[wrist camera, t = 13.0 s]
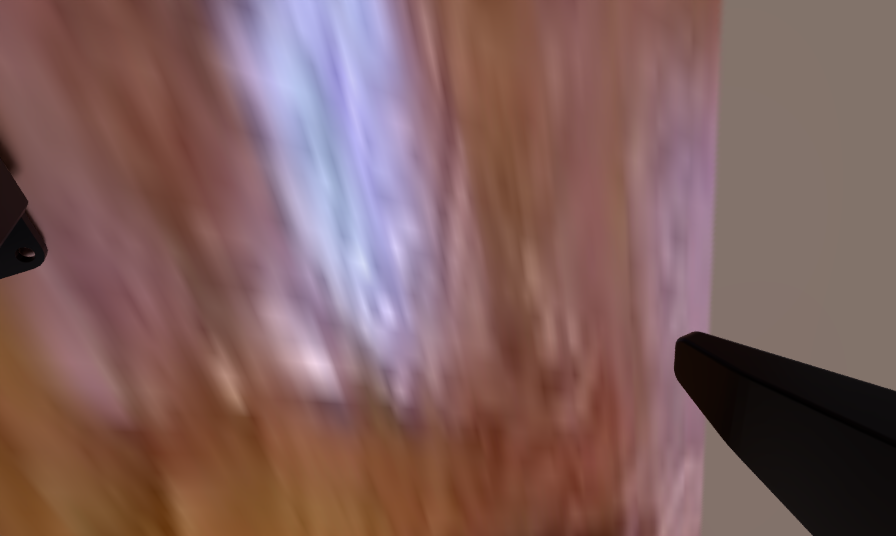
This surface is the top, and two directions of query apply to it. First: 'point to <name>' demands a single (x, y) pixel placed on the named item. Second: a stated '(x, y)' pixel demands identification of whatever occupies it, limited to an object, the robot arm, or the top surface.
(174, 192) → the top surface
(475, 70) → the top surface
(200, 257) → the top surface
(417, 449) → the top surface
